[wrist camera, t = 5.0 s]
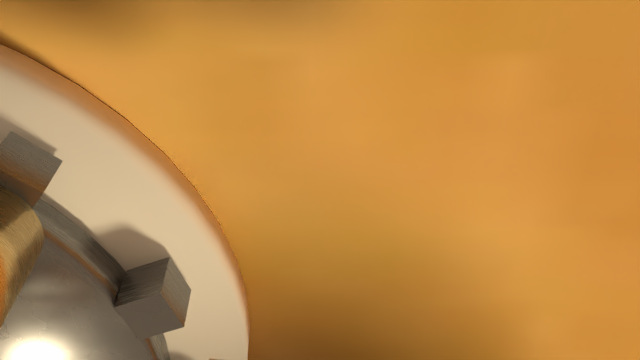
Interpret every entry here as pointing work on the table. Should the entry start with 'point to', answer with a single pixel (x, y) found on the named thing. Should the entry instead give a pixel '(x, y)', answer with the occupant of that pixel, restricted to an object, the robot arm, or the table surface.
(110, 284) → the sprocket
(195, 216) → the sprocket base
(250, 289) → the table surface
